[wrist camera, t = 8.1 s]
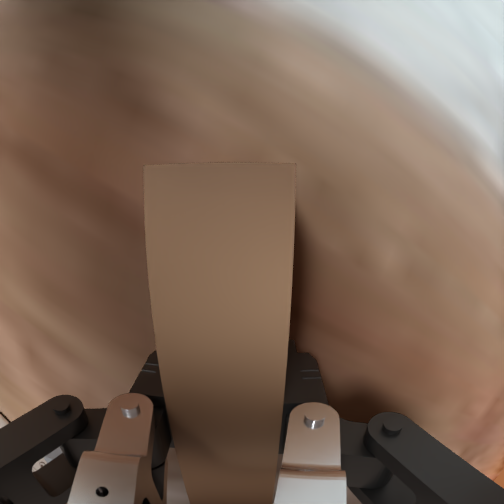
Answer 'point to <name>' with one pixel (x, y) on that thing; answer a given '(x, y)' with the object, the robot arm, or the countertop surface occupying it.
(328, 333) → the countertop surface
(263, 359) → the slab on base
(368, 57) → the countertop surface
